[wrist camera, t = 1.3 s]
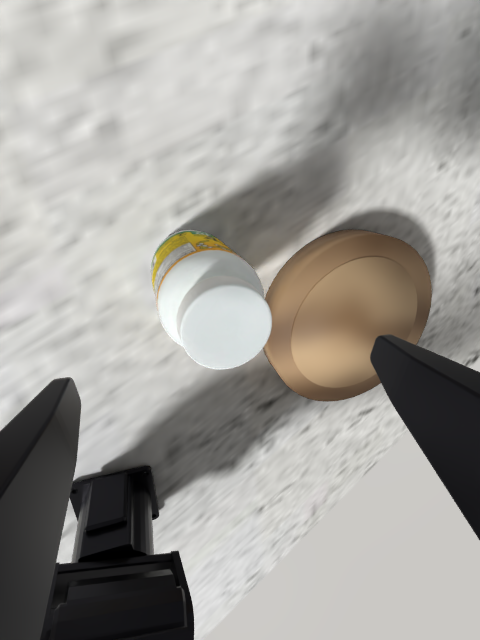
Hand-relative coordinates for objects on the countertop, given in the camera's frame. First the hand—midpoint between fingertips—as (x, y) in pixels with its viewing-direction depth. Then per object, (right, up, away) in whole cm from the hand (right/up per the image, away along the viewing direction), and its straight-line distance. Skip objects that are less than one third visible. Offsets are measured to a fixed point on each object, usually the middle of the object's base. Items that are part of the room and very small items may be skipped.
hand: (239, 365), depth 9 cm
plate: (+8, +2, +17) cm, 19 cm away
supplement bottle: (-3, +5, +12) cm, 14 cm away
